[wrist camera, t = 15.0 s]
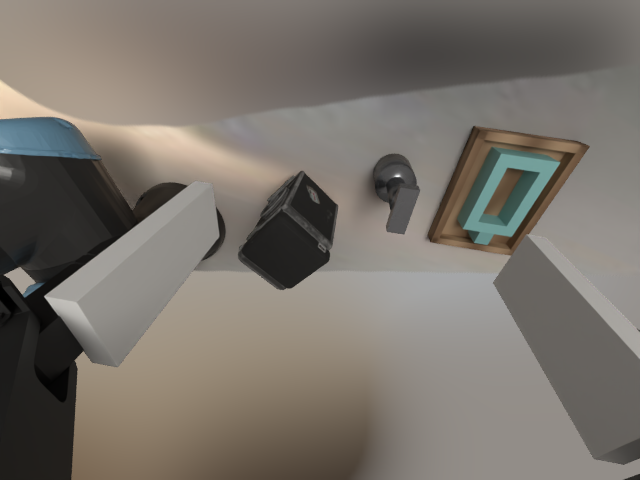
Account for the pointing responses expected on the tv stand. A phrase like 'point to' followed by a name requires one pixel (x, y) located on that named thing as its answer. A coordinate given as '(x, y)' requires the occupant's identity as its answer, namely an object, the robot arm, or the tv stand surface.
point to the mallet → (396, 190)
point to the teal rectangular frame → (519, 201)
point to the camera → (291, 234)
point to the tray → (501, 186)
